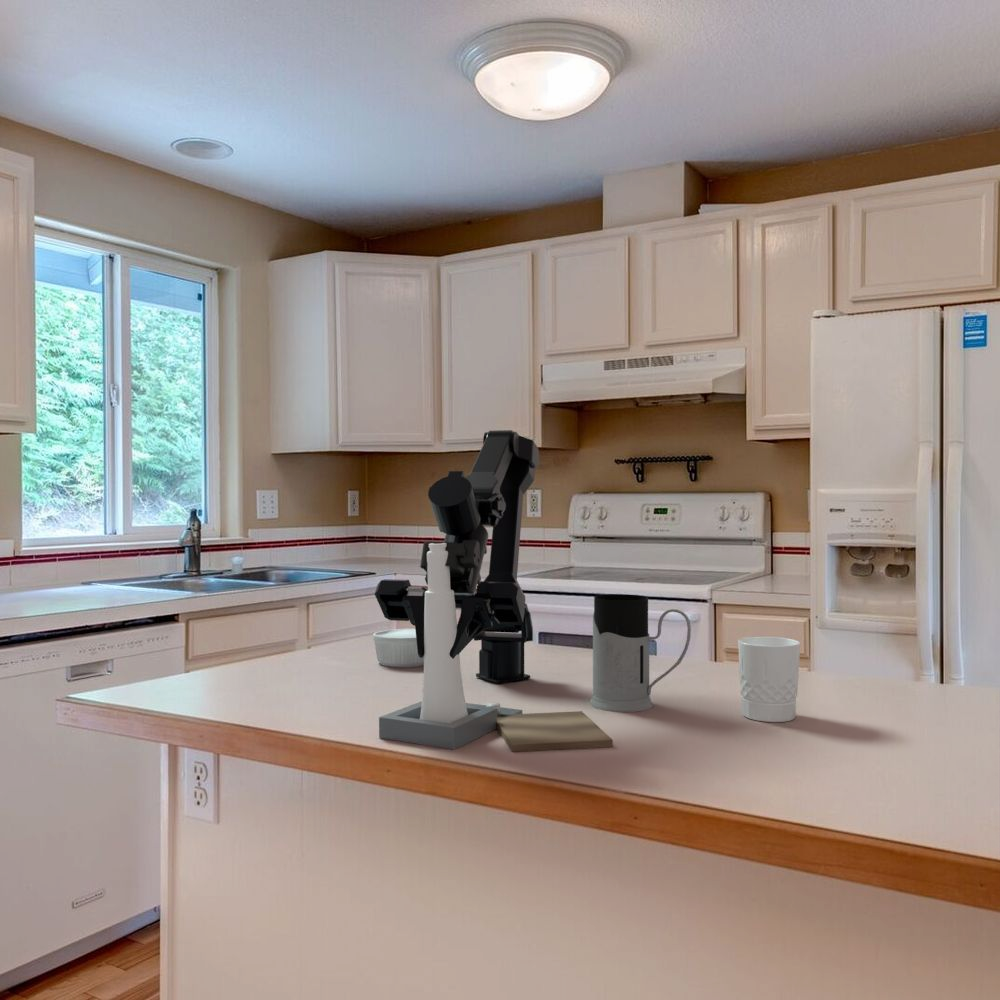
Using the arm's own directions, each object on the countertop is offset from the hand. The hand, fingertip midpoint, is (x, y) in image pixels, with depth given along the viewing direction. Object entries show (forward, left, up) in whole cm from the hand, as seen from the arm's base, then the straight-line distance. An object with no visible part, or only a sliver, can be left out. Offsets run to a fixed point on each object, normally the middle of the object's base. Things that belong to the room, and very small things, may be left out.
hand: (435, 656), depth 113 cm
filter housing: (-4, -2, -10) cm, 11 cm away
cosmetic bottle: (-1, -1, -8) cm, 9 cm away
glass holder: (-31, +3, -10) cm, 33 cm away
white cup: (-41, +17, -10) cm, 45 cm away
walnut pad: (-12, +7, -10) cm, 17 cm away
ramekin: (-20, -44, -10) cm, 49 cm away
